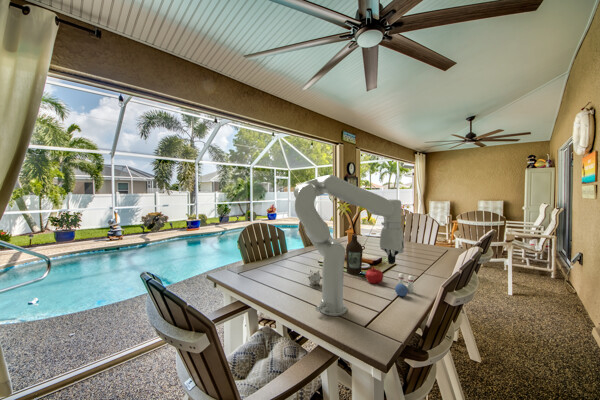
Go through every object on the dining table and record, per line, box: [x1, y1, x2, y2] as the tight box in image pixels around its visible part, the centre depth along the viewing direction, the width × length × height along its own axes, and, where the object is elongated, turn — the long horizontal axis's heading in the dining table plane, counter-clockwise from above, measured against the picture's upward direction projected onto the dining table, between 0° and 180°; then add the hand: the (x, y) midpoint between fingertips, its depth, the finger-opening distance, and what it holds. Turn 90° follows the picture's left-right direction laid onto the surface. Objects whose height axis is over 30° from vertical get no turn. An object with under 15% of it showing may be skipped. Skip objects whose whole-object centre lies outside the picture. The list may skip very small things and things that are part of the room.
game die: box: [307, 269, 322, 286], centre depth 136 cm, size 9×8×10 cm
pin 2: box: [407, 275, 414, 294], centre depth 126 cm, size 2×2×8 cm
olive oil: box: [345, 233, 363, 276], centre depth 155 cm, size 11×11×25 cm
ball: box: [394, 283, 409, 297], centre depth 122 cm, size 6×6×6 cm
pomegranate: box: [365, 265, 384, 284], centre depth 140 cm, size 10×10×9 cm
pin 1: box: [398, 272, 405, 285], centre depth 129 cm, size 2×2×8 cm
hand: (391, 263), depth 114 cm, fingers closed
